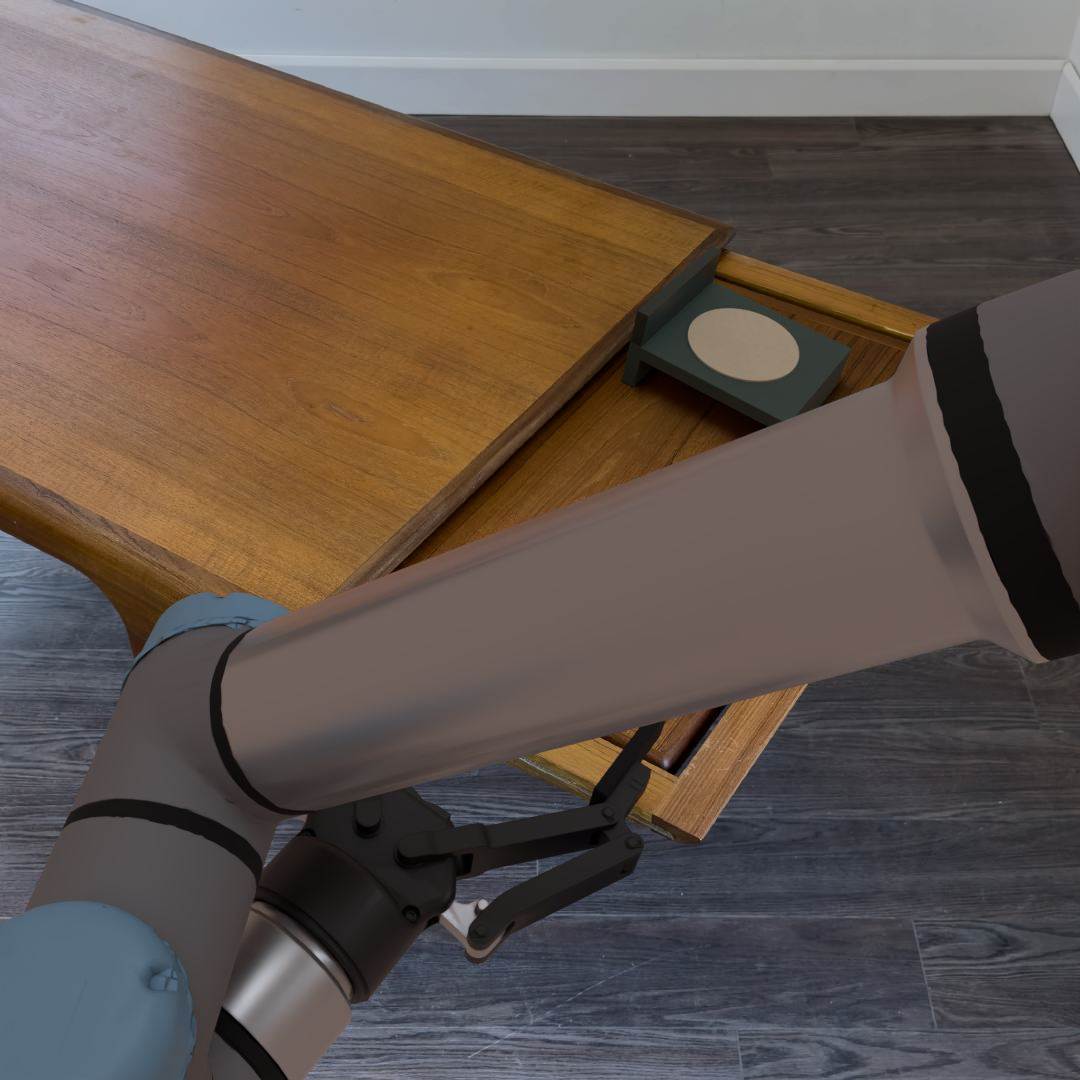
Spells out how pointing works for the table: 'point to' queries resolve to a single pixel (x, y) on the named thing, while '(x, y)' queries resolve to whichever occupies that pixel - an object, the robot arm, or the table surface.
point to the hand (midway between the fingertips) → (557, 654)
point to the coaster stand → (732, 347)
